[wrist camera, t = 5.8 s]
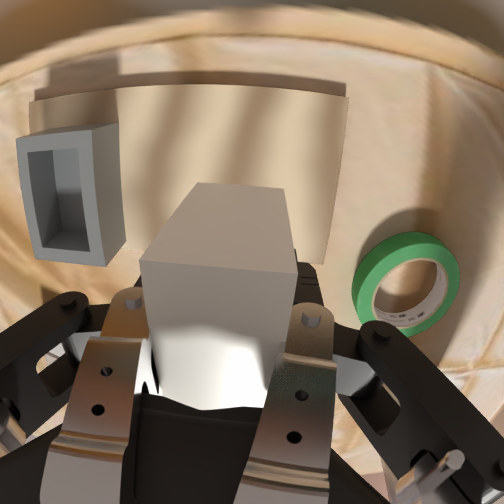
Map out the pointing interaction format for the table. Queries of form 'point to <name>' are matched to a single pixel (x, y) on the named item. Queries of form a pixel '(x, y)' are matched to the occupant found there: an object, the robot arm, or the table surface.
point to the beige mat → (215, 149)
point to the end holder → (73, 193)
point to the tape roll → (394, 256)
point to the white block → (220, 294)
